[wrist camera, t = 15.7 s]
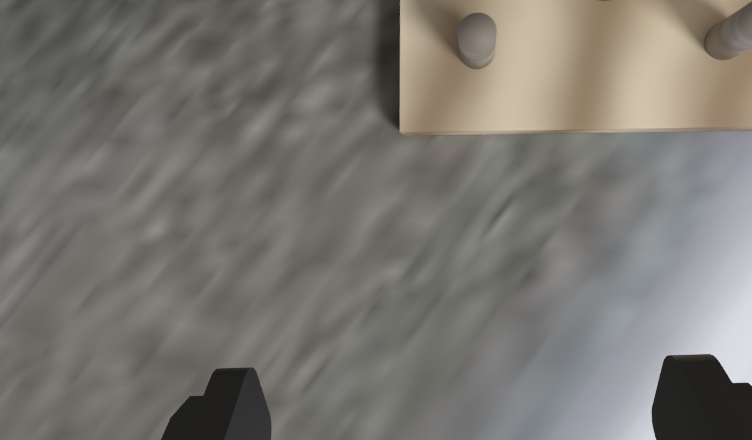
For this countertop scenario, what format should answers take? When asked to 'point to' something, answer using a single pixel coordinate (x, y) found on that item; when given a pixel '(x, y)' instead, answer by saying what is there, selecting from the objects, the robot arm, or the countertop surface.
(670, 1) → the peg board
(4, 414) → the countertop surface
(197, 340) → the countertop surface
